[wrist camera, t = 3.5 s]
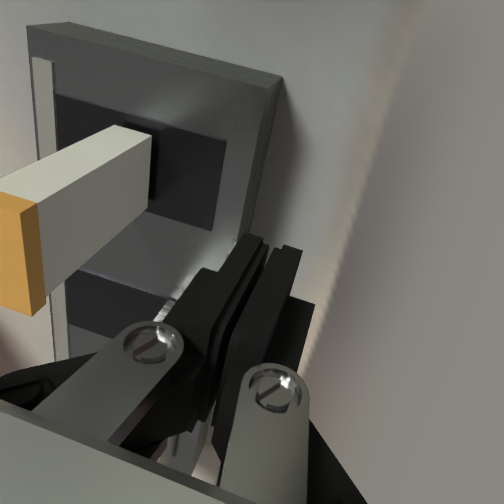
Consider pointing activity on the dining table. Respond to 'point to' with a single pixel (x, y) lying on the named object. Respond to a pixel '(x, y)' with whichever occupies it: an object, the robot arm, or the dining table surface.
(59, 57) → the breaker panel
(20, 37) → the dining table surface
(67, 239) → the handle
